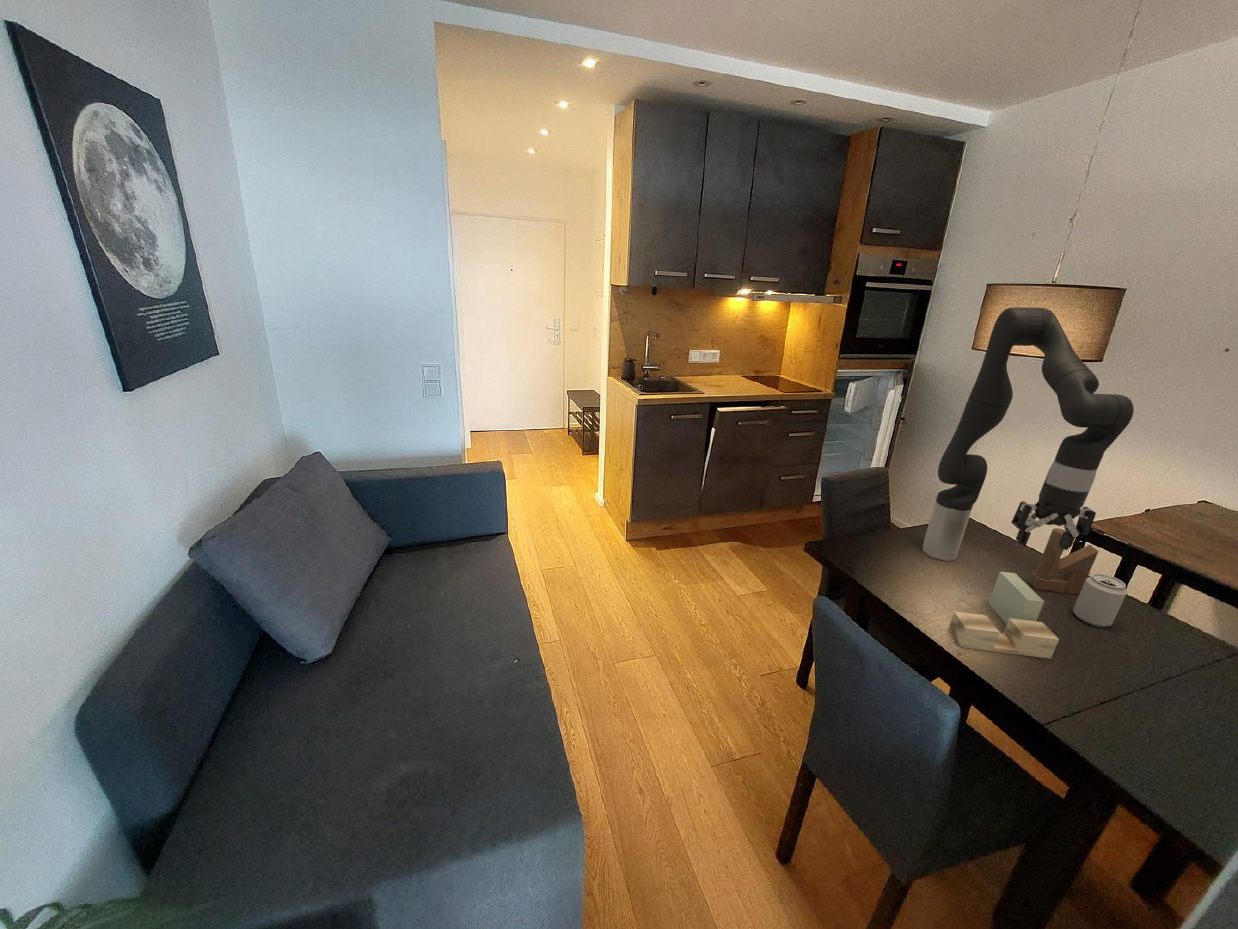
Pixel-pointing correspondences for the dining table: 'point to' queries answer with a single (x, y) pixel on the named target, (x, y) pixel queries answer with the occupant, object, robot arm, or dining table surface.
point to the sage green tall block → (1015, 599)
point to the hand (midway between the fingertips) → (1041, 546)
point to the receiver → (1003, 635)
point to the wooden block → (1063, 567)
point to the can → (1100, 600)
